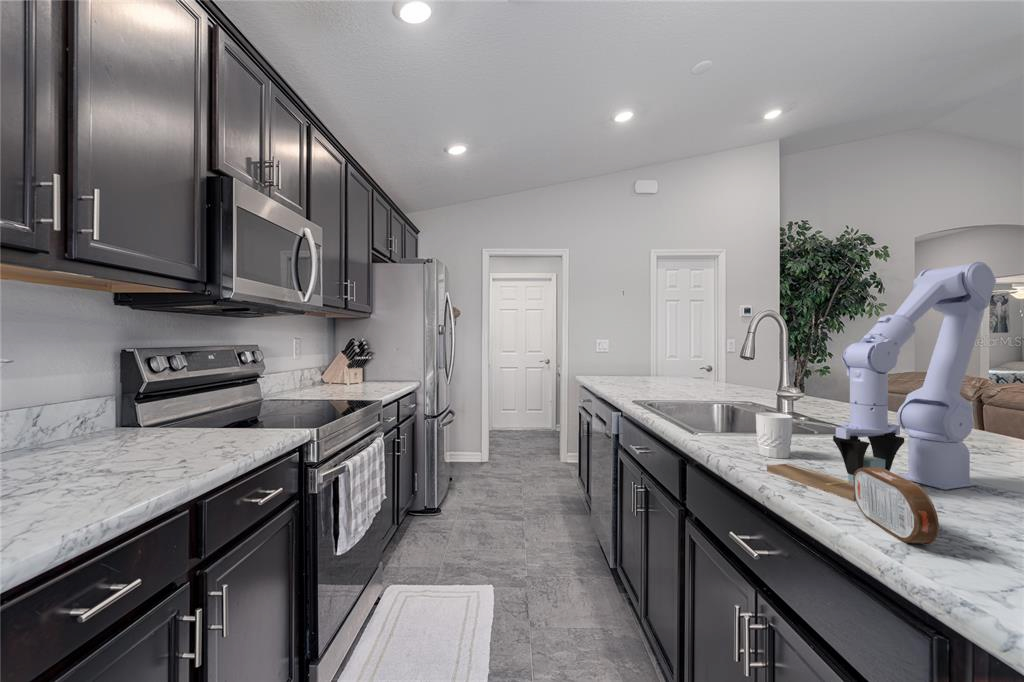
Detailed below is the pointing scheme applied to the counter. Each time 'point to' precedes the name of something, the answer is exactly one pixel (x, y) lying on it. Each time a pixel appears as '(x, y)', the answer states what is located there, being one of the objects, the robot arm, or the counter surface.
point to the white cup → (774, 434)
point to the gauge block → (869, 465)
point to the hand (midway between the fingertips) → (868, 473)
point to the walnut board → (815, 479)
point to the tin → (896, 505)
